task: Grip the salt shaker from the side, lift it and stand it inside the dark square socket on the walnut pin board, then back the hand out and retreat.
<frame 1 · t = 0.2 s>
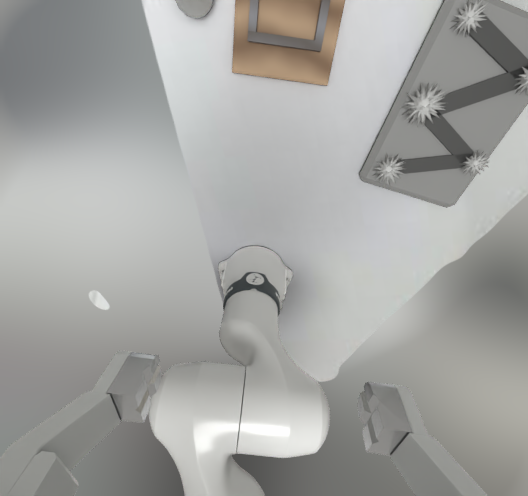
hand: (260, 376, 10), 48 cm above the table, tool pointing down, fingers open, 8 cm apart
decorative plate: (447, 115, 48), on the table
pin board: (289, 1, 40), on the table
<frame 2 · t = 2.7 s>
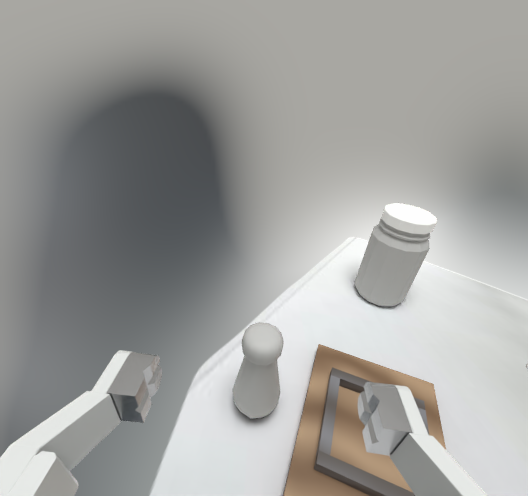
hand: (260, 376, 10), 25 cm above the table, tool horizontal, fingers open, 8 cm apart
jar: (376, 293, 55), on the table
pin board: (368, 440, 31), on the table
salt shaker: (254, 402, 34), on the table
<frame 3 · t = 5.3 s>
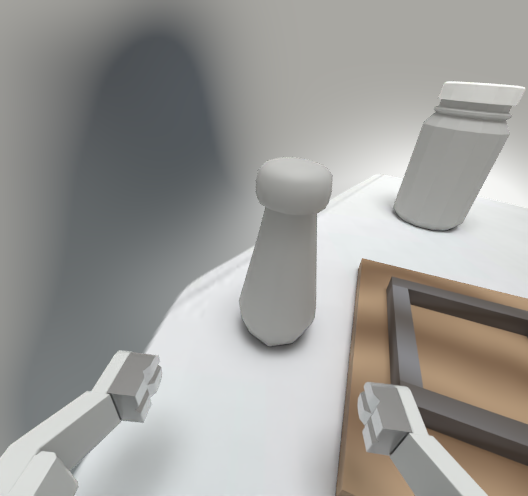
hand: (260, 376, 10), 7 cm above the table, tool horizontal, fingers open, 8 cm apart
jar: (423, 219, 42), on the table
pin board: (466, 377, 19), on the table
salt shaker: (274, 326, 22), on the table
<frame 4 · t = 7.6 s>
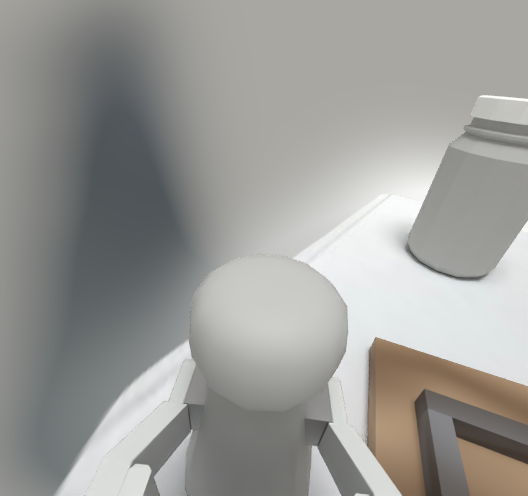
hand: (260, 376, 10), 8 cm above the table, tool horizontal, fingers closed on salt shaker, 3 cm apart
jar: (443, 259, 34), on the table
salt shaker: (246, 478, 14), on the table, touching gripper
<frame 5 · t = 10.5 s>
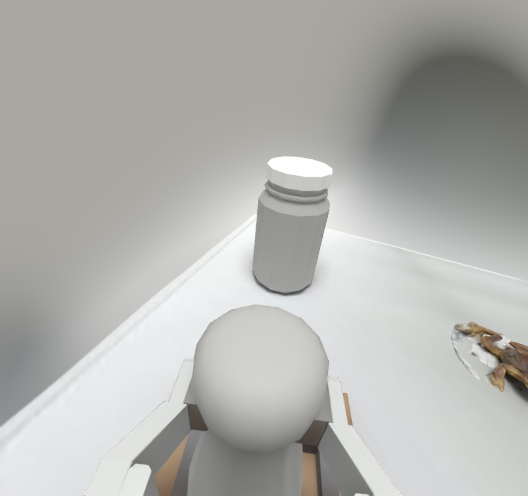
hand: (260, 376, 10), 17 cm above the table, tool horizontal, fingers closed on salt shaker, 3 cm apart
frog figurine: (504, 368, 33), on the table
jar: (281, 277, 43), on the table
salt shaker: (243, 492, 15), point 7 cm above the table, touching gripper
when the fingers open (11 cm above the table, at t = 12.4 s): salt shaker stays where it is, resting on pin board.
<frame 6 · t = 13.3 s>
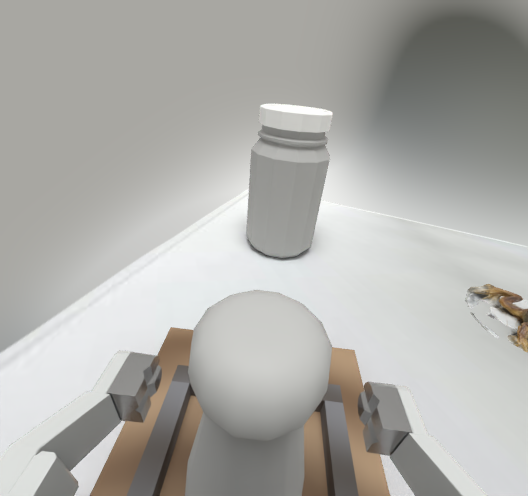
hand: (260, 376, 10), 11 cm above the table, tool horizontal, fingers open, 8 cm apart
frog figurine: (525, 330, 30), on the table
jar: (278, 243, 40), on the table
salt shaker: (243, 488, 15), point 1 cm above the table, touching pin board
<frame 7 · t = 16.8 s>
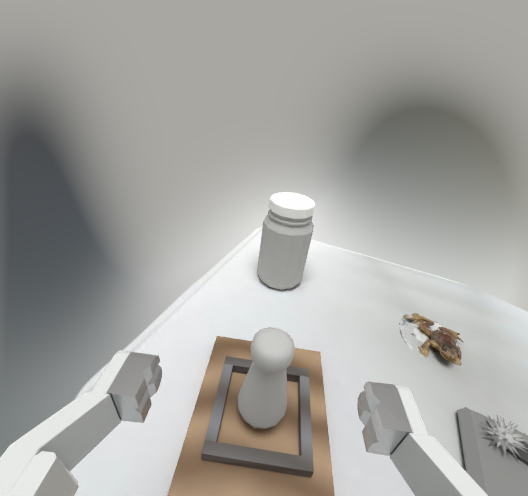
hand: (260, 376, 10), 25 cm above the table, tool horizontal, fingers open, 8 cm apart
frog figurine: (433, 344, 47), on the table
jar: (279, 278, 58), on the table
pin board: (260, 417, 33), on the table
salt shaker: (260, 411, 32), point 1 cm above the table, touching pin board
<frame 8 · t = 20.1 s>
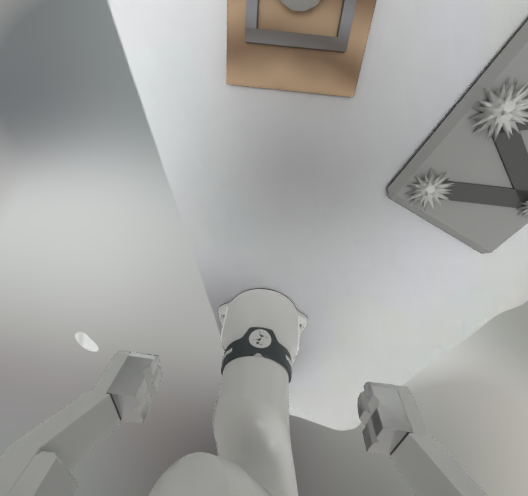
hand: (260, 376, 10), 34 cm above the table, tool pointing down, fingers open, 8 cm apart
decorative plate: (519, 135, 36), on the table
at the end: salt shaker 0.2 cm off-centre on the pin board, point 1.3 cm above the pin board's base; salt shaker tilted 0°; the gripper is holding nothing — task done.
